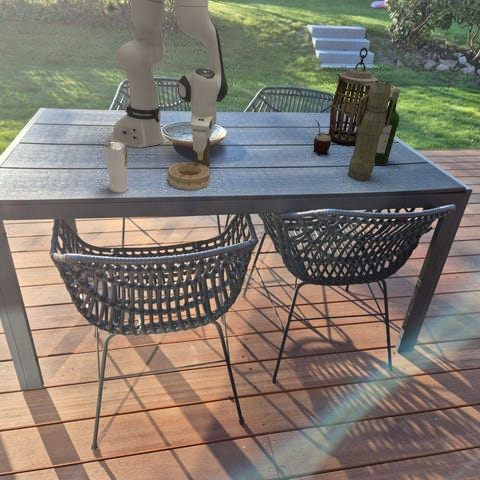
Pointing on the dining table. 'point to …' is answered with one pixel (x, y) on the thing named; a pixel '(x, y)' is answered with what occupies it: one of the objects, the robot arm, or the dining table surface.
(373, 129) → the thermos
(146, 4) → the robot arm
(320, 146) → the mate gourd
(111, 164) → the beer glass
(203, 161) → the dark brown rounded piece
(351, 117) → the lantern
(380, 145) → the wine bottle
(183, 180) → the tan faceted ring
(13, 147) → the dining table surface
